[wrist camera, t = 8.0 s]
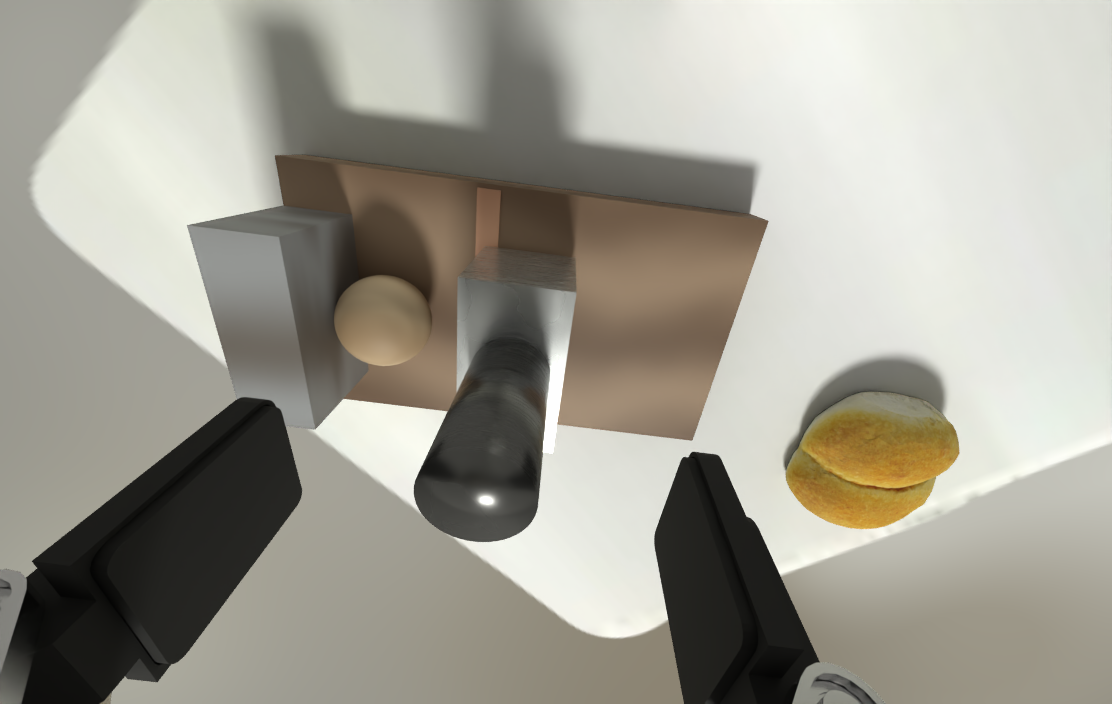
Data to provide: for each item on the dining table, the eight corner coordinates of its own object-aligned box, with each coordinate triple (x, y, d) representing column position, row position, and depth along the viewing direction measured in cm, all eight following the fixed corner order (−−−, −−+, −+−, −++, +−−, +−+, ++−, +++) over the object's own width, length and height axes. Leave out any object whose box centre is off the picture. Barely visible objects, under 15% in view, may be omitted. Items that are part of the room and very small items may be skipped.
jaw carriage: (485, 245, 18) (381, 363, 8) (575, 257, 18) (579, 387, 8) (479, 381, 21) (400, 581, 11) (556, 390, 21) (542, 597, 11)
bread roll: (764, 492, 27) (793, 544, 24) (819, 380, 23) (864, 422, 20) (884, 507, 28) (930, 560, 24) (959, 397, 23) (1028, 442, 20)
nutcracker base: (303, 154, 19) (168, 158, 12) (750, 214, 19) (836, 246, 13) (336, 377, 24) (253, 457, 18) (683, 419, 25) (721, 511, 18)
